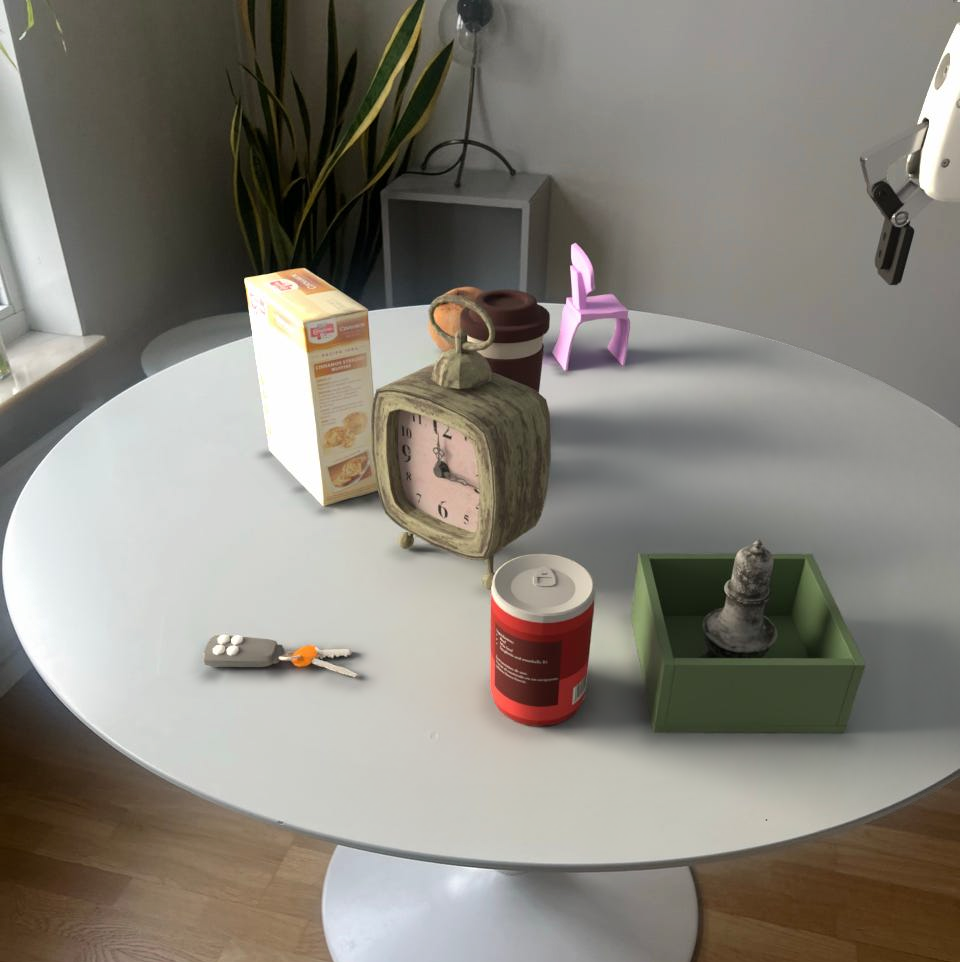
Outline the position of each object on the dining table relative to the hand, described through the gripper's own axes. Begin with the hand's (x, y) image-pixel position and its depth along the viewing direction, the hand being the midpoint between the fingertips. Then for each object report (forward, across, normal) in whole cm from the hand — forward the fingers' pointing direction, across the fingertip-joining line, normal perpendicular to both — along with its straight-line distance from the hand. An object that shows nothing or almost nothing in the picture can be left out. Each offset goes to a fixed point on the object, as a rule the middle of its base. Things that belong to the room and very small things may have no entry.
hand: (954, 279), depth 70 cm
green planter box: (+28, -14, -11) cm, 33 cm away
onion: (+28, -37, +56) cm, 73 cm away
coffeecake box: (+28, -52, +23) cm, 64 cm away
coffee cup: (+28, -32, +34) cm, 55 cm away
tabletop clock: (+28, -36, +6) cm, 46 cm away
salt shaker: (+28, -14, -11) cm, 33 cm away
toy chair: (+28, -20, +54) cm, 64 cm away
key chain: (+28, -51, -10) cm, 59 cm away
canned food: (+28, -30, -14) cm, 44 cm away
